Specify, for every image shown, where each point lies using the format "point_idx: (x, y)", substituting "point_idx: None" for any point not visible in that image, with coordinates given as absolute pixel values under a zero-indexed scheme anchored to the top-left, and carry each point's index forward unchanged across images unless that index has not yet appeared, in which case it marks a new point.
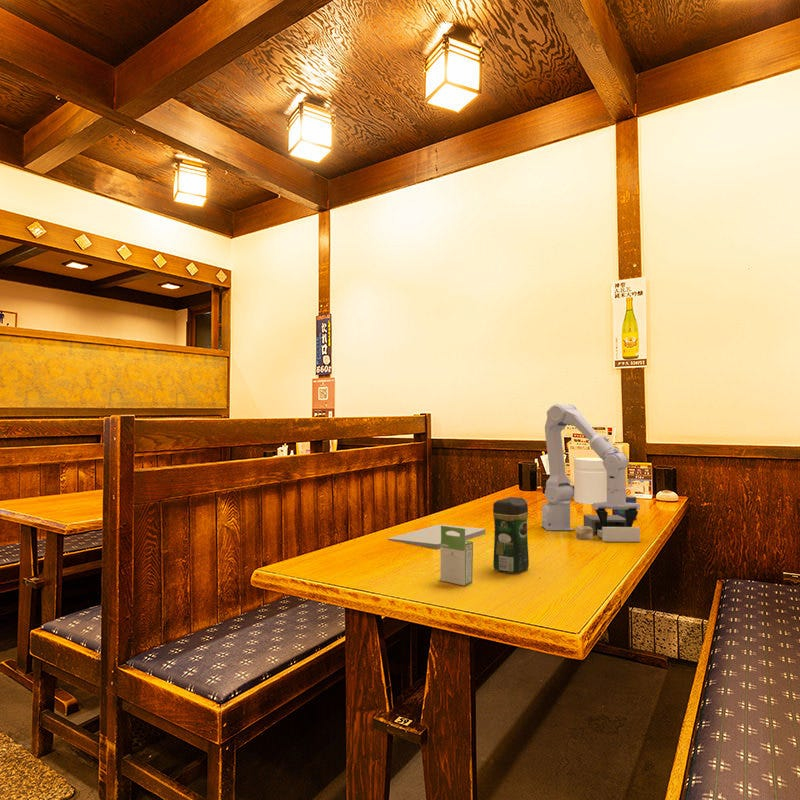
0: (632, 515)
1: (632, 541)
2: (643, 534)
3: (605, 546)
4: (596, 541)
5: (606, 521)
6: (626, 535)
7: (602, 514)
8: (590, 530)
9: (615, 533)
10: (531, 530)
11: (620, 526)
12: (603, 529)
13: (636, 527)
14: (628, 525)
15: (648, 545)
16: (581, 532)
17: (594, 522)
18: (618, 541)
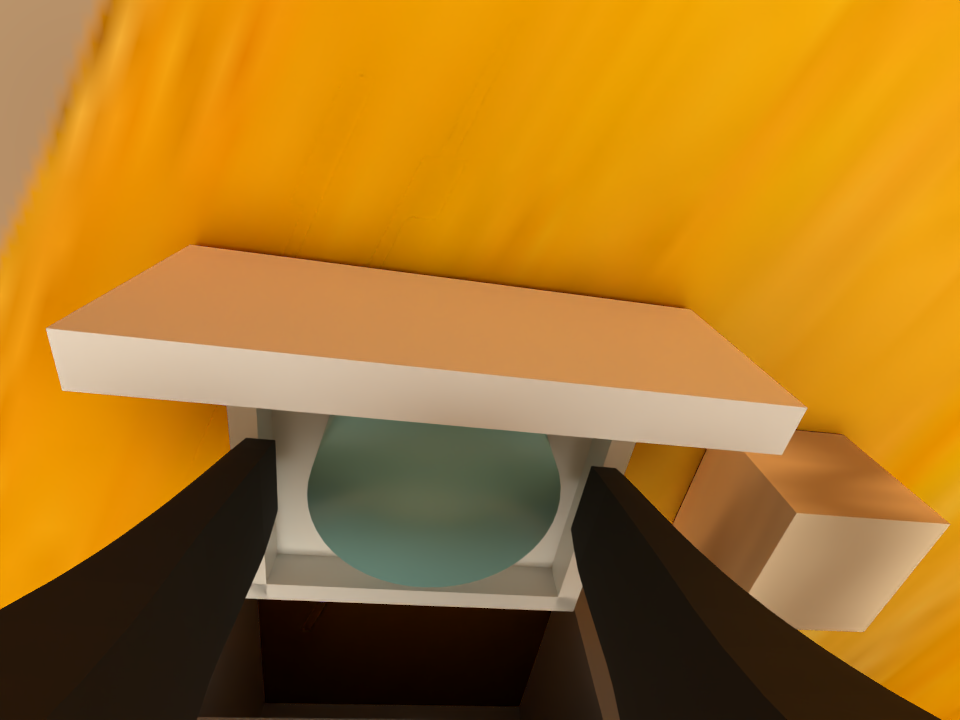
0: (11, 683)
1: (304, 260)
2: (24, 591)
3: (842, 56)
4: (737, 347)
5: (680, 579)
6: (380, 302)
7: (907, 718)
8: (808, 497)
9: (560, 336)
10: (945, 699)
11: (237, 707)
12: (778, 389)
13: (124, 361)
14: (232, 527)
15: (117, 26)
16: (894, 486)
17: (608, 711)
18: (499, 285)
